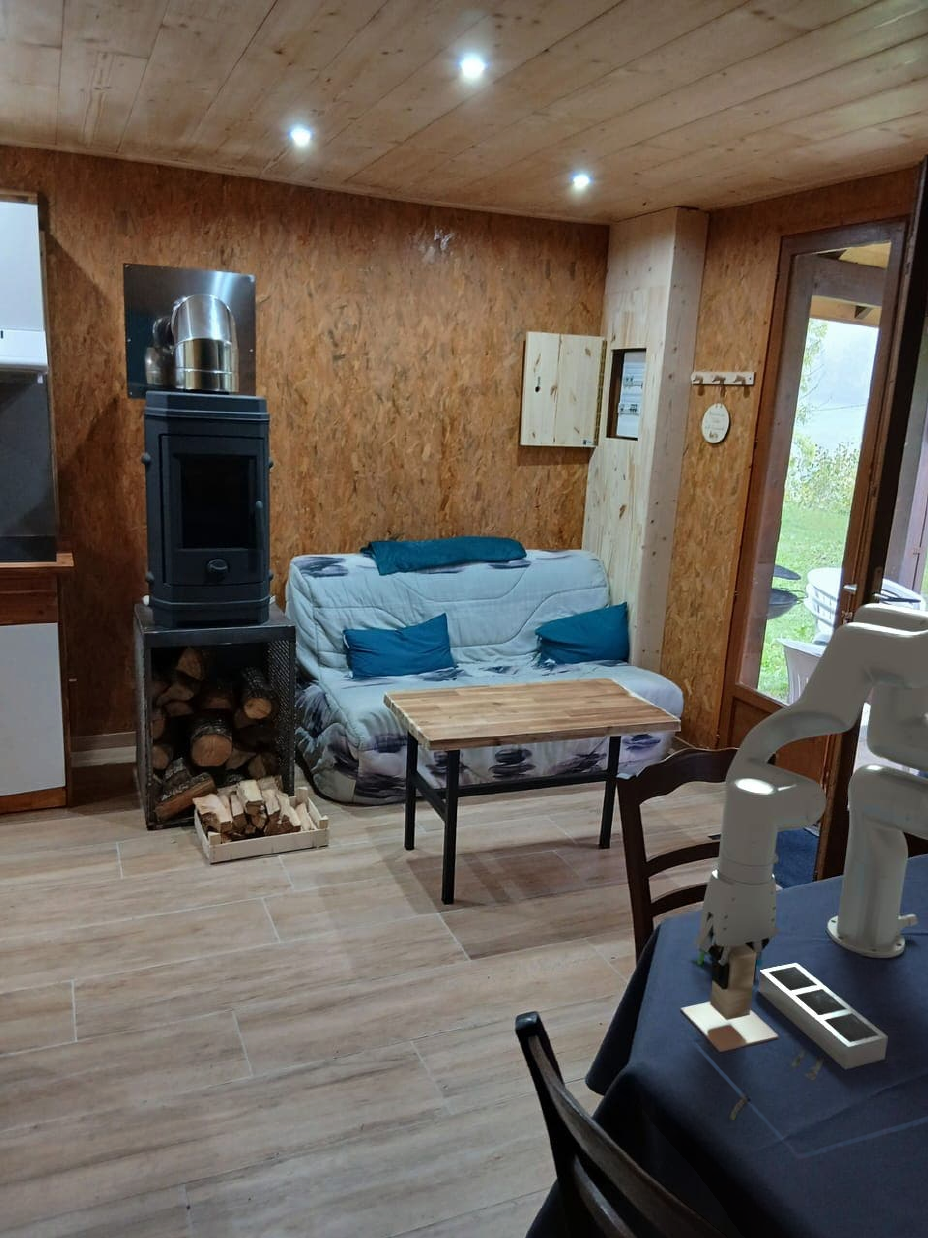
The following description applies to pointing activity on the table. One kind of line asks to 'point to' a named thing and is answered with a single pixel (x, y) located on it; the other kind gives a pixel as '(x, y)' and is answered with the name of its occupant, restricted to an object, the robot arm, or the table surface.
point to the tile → (728, 1027)
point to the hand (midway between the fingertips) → (732, 980)
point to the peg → (736, 984)
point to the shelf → (823, 1016)
